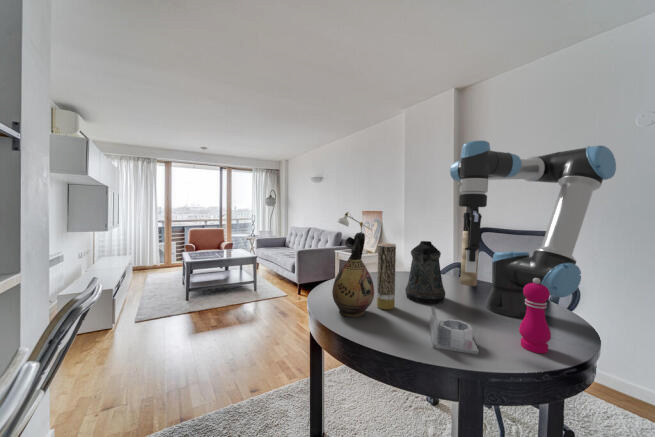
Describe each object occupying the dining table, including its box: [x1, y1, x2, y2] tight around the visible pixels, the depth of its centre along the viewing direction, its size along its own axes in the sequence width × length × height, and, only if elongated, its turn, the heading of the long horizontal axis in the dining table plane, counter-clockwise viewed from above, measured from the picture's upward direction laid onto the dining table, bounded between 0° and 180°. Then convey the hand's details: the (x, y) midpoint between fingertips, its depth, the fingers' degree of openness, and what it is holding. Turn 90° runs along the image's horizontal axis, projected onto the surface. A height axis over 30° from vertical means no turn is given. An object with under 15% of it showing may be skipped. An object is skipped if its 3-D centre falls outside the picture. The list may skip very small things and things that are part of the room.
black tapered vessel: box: [404, 240, 446, 305], centre depth 121 cm, size 16×19×25 cm
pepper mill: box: [518, 278, 552, 354], centre depth 79 cm, size 7×7×20 cm
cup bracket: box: [429, 305, 480, 355], centre depth 83 cm, size 12×12×8 cm
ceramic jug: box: [331, 231, 375, 318], centre depth 105 cm, size 17×15×30 cm
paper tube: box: [376, 242, 397, 311], centre depth 110 cm, size 7×7×25 cm
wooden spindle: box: [459, 230, 480, 287], centre depth 85 cm, size 4×4×16 cm
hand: (469, 270), depth 85 cm, fingers closed on wooden spindle, 4 cm apart
